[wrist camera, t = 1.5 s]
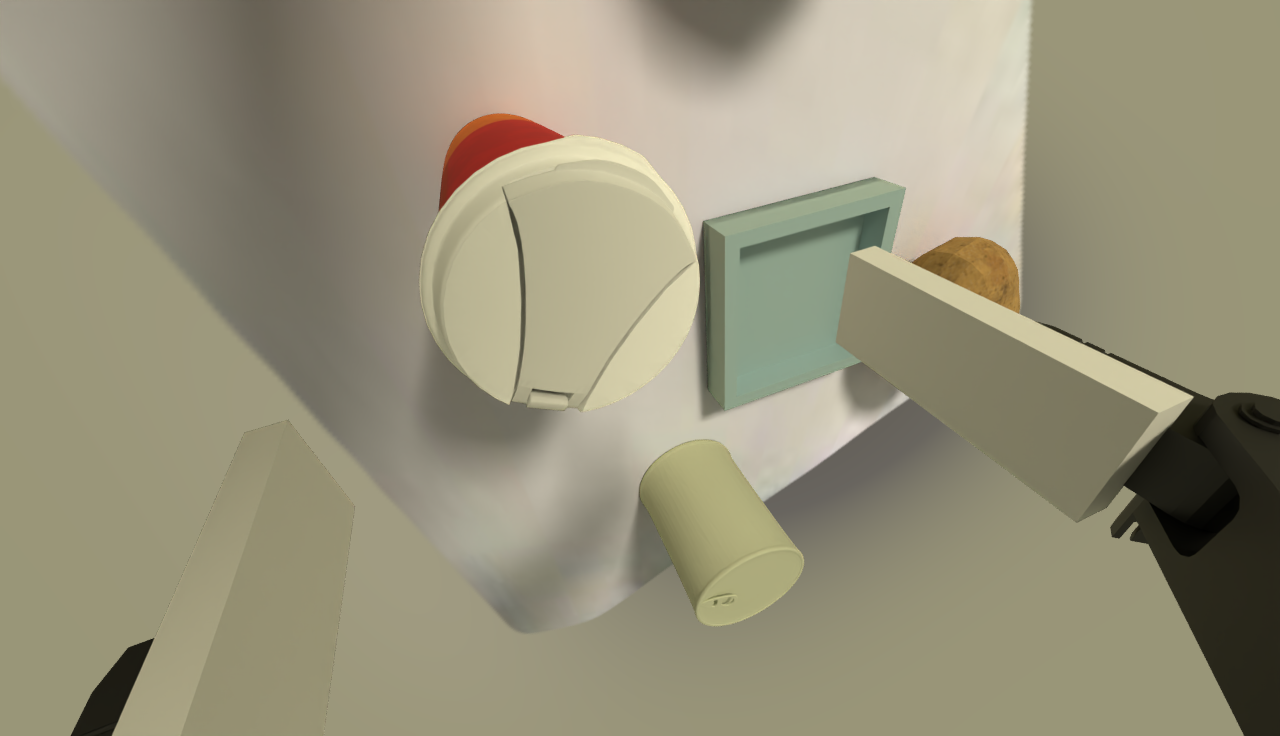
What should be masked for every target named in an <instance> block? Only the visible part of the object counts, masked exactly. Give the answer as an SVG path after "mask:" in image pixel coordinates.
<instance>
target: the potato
mask: <svg viewBox="0 0 1280 736" xmlns="http://www.w3.org/2000/svg"><path fill="white" fill-rule="evenodd" d="M912 264H915V265H917V266H919V267H921V268H923V269H925V270H927V271H929V272H931V273H934V274H936V275H938V276H940V277H942V278H944V279H946V280H948V281H950V282H953V283H955V284H957V285H959V286H961V287H963V288H965V289H967V290H969V291H972V292H974V293H976V294H978V295H980V296H982V297H984V298H986V299H988V300H991V301H993V302H995V303H997V304H999V305H1001V306H1003V307H1005V308H1007V309H1010V310H1012V311H1014V312H1016V313H1018V314H1019V310H1020V297H1019V277H1018V269H1017V267H1016V265H1015V263H1014V261H1013V259H1012V258H1011V256H1010V255H1009V253H1008V252H1007V250H1006V249H1004V248H1002V247H1001V246H999V245H998V244H996V243H995V242H993V241H991V240H988V239H984V238H981V237H955V238H953V239H951V240H949V241H948V242H946V243H944V244H942V245H940V246H938V247H936V248H934V249H933V250H931V251H929V252H927V253H925V254H923V255H922V256H920V257H919V258H917V259H916V260H915V261H914V262H912Z"/></svg>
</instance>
